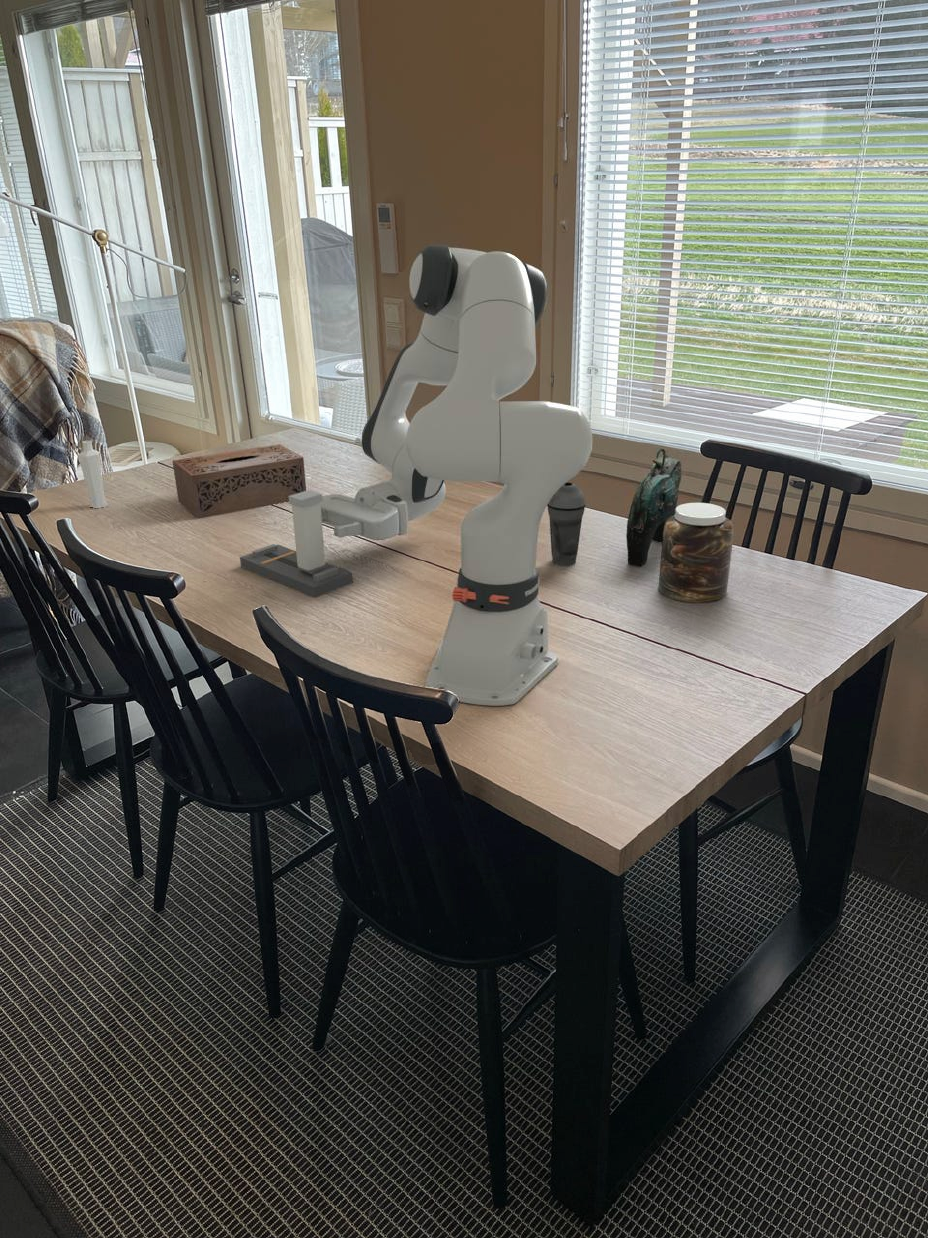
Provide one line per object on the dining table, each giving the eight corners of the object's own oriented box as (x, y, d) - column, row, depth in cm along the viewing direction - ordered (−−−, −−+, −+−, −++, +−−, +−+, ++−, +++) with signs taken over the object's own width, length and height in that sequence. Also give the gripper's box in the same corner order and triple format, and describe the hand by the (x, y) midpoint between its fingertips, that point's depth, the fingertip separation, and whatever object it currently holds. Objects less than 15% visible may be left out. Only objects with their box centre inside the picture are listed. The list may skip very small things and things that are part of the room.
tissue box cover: (197, 519, 204) (191, 475, 199) (178, 502, 215) (172, 460, 210) (307, 499, 216) (303, 457, 212) (283, 484, 227) (279, 443, 223)
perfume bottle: (114, 504, 213) (102, 440, 206) (98, 510, 210) (86, 444, 203) (101, 501, 215) (89, 437, 209) (85, 506, 212) (72, 442, 205)
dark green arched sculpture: (653, 533, 192) (661, 437, 184) (683, 538, 189) (693, 441, 181) (617, 564, 177) (624, 462, 168) (650, 570, 174) (658, 466, 165)
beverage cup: (581, 570, 174) (586, 466, 166) (542, 567, 176) (545, 464, 167) (584, 555, 181) (589, 455, 172) (547, 553, 182) (550, 453, 174)
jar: (675, 572, 173) (682, 495, 166) (736, 586, 167) (746, 506, 160) (647, 593, 164) (654, 513, 158) (710, 609, 158) (720, 526, 152)
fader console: (353, 582, 170) (351, 567, 169) (314, 597, 164) (313, 581, 163) (278, 553, 184) (277, 539, 182) (241, 566, 178) (239, 552, 176)
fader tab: (328, 568, 170) (322, 494, 164) (309, 576, 167) (302, 500, 161) (314, 563, 173) (308, 489, 167) (295, 570, 170) (287, 495, 164)
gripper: (338, 482, 183) (282, 498, 173) (412, 503, 170) (355, 522, 161) (341, 512, 185) (285, 530, 176) (413, 535, 173) (357, 556, 163)
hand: (319, 526), depth 168 cm, fingers open, 8 cm apart
